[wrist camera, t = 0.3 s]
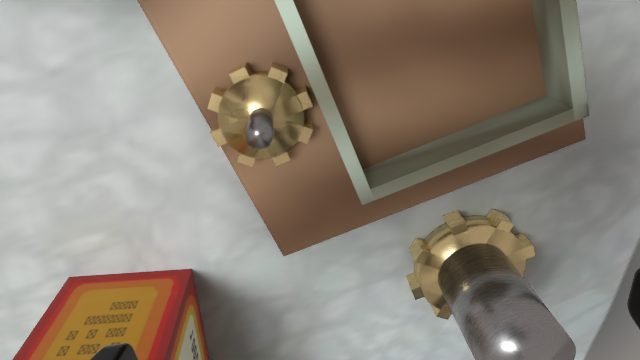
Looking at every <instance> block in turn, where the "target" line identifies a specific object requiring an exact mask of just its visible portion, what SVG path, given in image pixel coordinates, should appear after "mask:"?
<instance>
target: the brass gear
mask: <svg viewBox="0 0 640 360" xmlns="http://www.w3.org/2000/svg"><path fill="white" fill-rule="evenodd" d="M443 217H444V220H445V224H443V225H441V226H439V227H438V228H437V229H435V230H434V231H433V232H432V233H430V234H429V235H428V236H427V237H426V239H425V240H421V239H418V238H415V240H414V242H413V243H412V245H411V247H410V248H409V250H410V252H411V254H412V256H413V258H414V273H413V274H410V275H407V276H406V277H407V280H408V282H409V285H410V287H411V290H412V292H413V295H414V297H415V300H416V299H419V298H422V297H425V298H426V299H427V301H428V302H429V303H430V304H431V306H432V308H433V310H434V313H435V315H436V316H437V317H441V318H444V319H448V318H449V317H450V315H451V314H452V313H453V315H454V317H455V320H456V322H457V324H458V326H459V328H460V330H461V332H462V334H463V336H464V338H465V340H466V342H467V344H468V346H469V348H470V350H471V352H472V354H473V356H474V358H475V360H574V358H575V353H576V350H575V345H574V343H573V341H572V339H571V338H570V337H569V336H568V334H567V333H566V332H565V330H564V329H563V328H562V327H561V325H560V324H559V323H558V321H557V320H556V319H555V318H554V316H553V315H552V314H551V312H550V311H549V310H548V309H547V307H546V306H545V305H544V303H543V302H542V301H541V300H540V298H539V297H538V296H537V294H536V293H535V292H534V291H533V289H532V288H531V287H530V285H529V284H528V283H527V282H526V280H525V279H524V278H523V274H524V272H525V268H526V259H529V258H531V257H534V256H535V251H534V246H533V244H532V243H531V242H530V241H529V240H528V239H527V238H526V237H525V235H524V234H523V233H520V234H517V235H515V236H514V235H513V233H512V232H511V231H510V230H511V229H512V227H513V226H514V224H513V223H512V222H511V221H510V220H509V219H508V217H507V216H506V215H505V214H504V213H502V212H499V211H496V210H494V209H491V210H490V212H489V214H488V215H487V217H486V216H465V217H462V216H461V215H460V214H459V212H458V211H454V212H451V213H449V214H446V215H443Z"/></svg>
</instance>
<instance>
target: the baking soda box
mask: <svg viewBox="0 0 640 360" xmlns="http://www.w3.org/2000/svg"><path fill="white" fill-rule="evenodd" d="M120 343H129V344H130V345H131V346H132V347H133V349H134V351H135V353H136V355H137V358H138V360H209V355H208V350H207V345H206V340H205V335H204V330H203V325H202V320H201V315H200V309H199V304H198V299H197V294H196V289H195V284H194V279H193V274H192V269H184V270H169V271H154V272H139V273H124V274H109V275H94V276H79V277H69V278H68V279H67V281H66V282H65V284H64V285H63V287H62V288H61V290H60V291H59V293H58V294H57V296H56V297H55V299H54V300H53V301H52V303H51V304H50V306H49V307H48V309H47V310H46V312H45V313H44V315H43V316H42V318H41V319H40V320H39V322H38V323H37V325H36V326H35V328H34V329H33V331H32V332H31V334H30V335H29V337H28V338H27V339H26V341H25V342H24V344H23V345H22V347H21V348H20V350H19V351H18V353H17V354H16V356H15V357H14V358H13V360H90V359H91V358H92V357H93V356H94V355H95V354H96V353H97V352H98V351H99V350H101V349H102V348H103V347H105V346H108V345H113V344H120Z"/></svg>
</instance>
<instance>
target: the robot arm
mask: <svg viewBox="0 0 640 360" xmlns="http://www.w3.org/2000/svg"><path fill="white" fill-rule="evenodd" d="M628 309H629V313H630V315H631V317H632V318H633V320H634V321H635V323H636V324H637V326H638V327H639V329H640V268H639V269H638V270H637V271H636V273H635V275H634V279H633V283H632V287H631V291H630V294H629V299H628ZM90 360H138V358H137V355H136V353H135V351H134V349H133V347H132V346H131V345H130V344H129V343H120V344H113V345H108V346H105V347H103V348H102V349H101V350H99V351H98V352H97V353H96V354H95V355H94V356H93V357H92V358H91V359H90Z"/></svg>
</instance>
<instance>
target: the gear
mask: <svg viewBox="0 0 640 360" xmlns="http://www.w3.org/2000/svg"><path fill="white" fill-rule="evenodd" d="M287 74H288V68H286V67H284V66H281V65H279V64H276V63H274V62H271V65H270V68H269V71H253V72H251V70H250V68H249V66H248V64H247V62H246V63H244V64H241V65H239V66H237V67H235V68H232V69H231V71H230V73H229V76H230V78H231V80H232V83H231V84H230V85H229V86H228V87H227V89H226V90H223V89H220V88H218V87H215V89H214V90H213V92H212V95H211V98H210V101H209V105H208V108H207V109H209V110H212V111H215V112H218V115H217V116H218V123H216V124H214V125H213V127H212V130H211V132H210V133H211V135H212V137H213V138H214V140H215V142H216V144H217V145H218V147H219V146H221V145H224V144H226V143H228V144H229V145H230V146H231V147H232V148H233V149H235V150H236V151H237V152H239V156H238V160H237V162H239V163H242V164H245V165H248V166H251V167H253V164H254V162H255V159H256V158H257V159H269V158H272V159H273V161H274V163H275V165H276V166H278V165H280V164H283V163H285V162H287V161H290V160H291V157H290V149H291V148H292V147H293V146H294V145H295V144H296V143H297V141H300V142H302V143H305V144H307V143H308V141H309V138H310V136H311V134H312V131H313V126H312V122H310V121H307V120H304V110H305V109H308V108H310V107H313V104H312V100H311V97H310V95H309V93H308V90H307V88H306V86H305V85H304V86H302V87H299V88H297V89H295V87H294V86H293V85H292V84H291V83H290V82H289V81H288V80H287V79H286V77H287Z"/></svg>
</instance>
